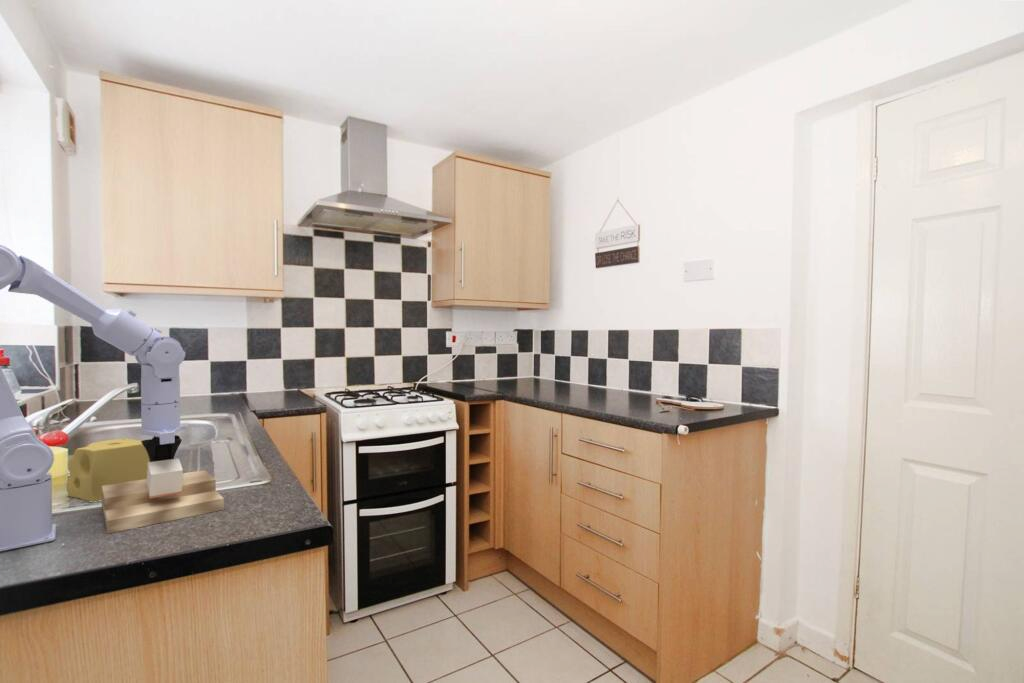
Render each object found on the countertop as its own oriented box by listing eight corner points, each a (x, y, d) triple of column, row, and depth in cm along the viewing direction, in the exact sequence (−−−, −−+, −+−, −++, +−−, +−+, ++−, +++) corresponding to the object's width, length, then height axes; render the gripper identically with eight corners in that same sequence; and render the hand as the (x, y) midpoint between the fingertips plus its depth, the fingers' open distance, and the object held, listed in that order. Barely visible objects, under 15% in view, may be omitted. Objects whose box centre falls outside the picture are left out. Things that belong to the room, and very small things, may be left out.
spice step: (107, 533, 77) (107, 508, 77) (102, 508, 89) (101, 485, 89) (223, 509, 87) (223, 487, 87) (204, 489, 100) (204, 469, 100)
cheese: (66, 497, 96) (65, 445, 96) (129, 482, 106) (129, 436, 106) (91, 504, 91) (91, 450, 91) (156, 489, 101) (155, 440, 101)
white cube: (149, 498, 83) (150, 474, 83) (146, 485, 87) (147, 462, 86) (181, 493, 86) (182, 470, 86) (177, 480, 90) (178, 458, 89)
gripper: (194, 404, 86) (195, 481, 86) (180, 397, 97) (181, 466, 97) (144, 408, 82) (145, 490, 82) (135, 401, 92) (136, 473, 92)
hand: (161, 478), depth 89 cm, fingers closed
